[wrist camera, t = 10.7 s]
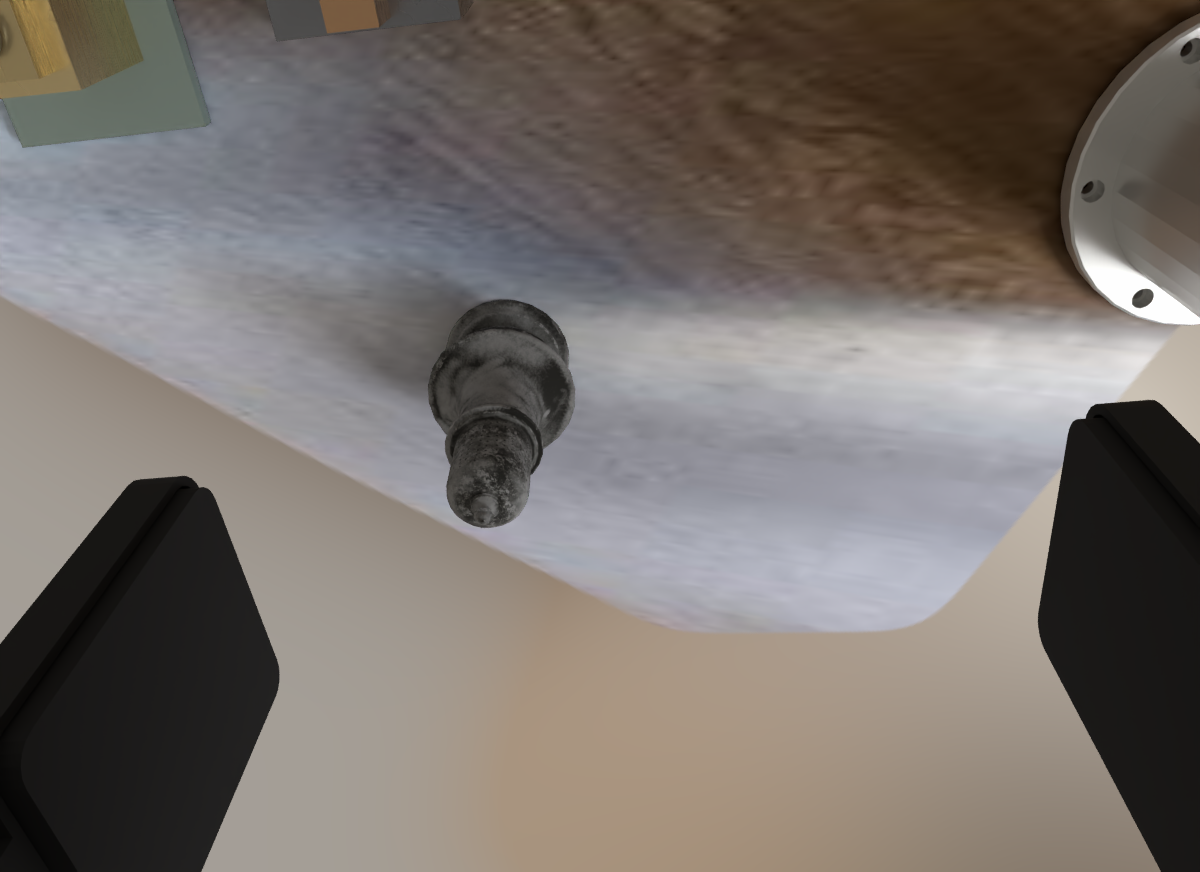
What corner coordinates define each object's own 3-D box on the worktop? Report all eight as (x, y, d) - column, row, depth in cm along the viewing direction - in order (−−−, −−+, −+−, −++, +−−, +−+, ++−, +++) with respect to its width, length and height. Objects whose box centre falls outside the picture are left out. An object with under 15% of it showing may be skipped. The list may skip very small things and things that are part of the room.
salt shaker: (412, 364, 41) (356, 533, 31) (493, 266, 39) (461, 412, 29) (520, 438, 43) (500, 619, 33) (603, 348, 41) (610, 513, 31)
